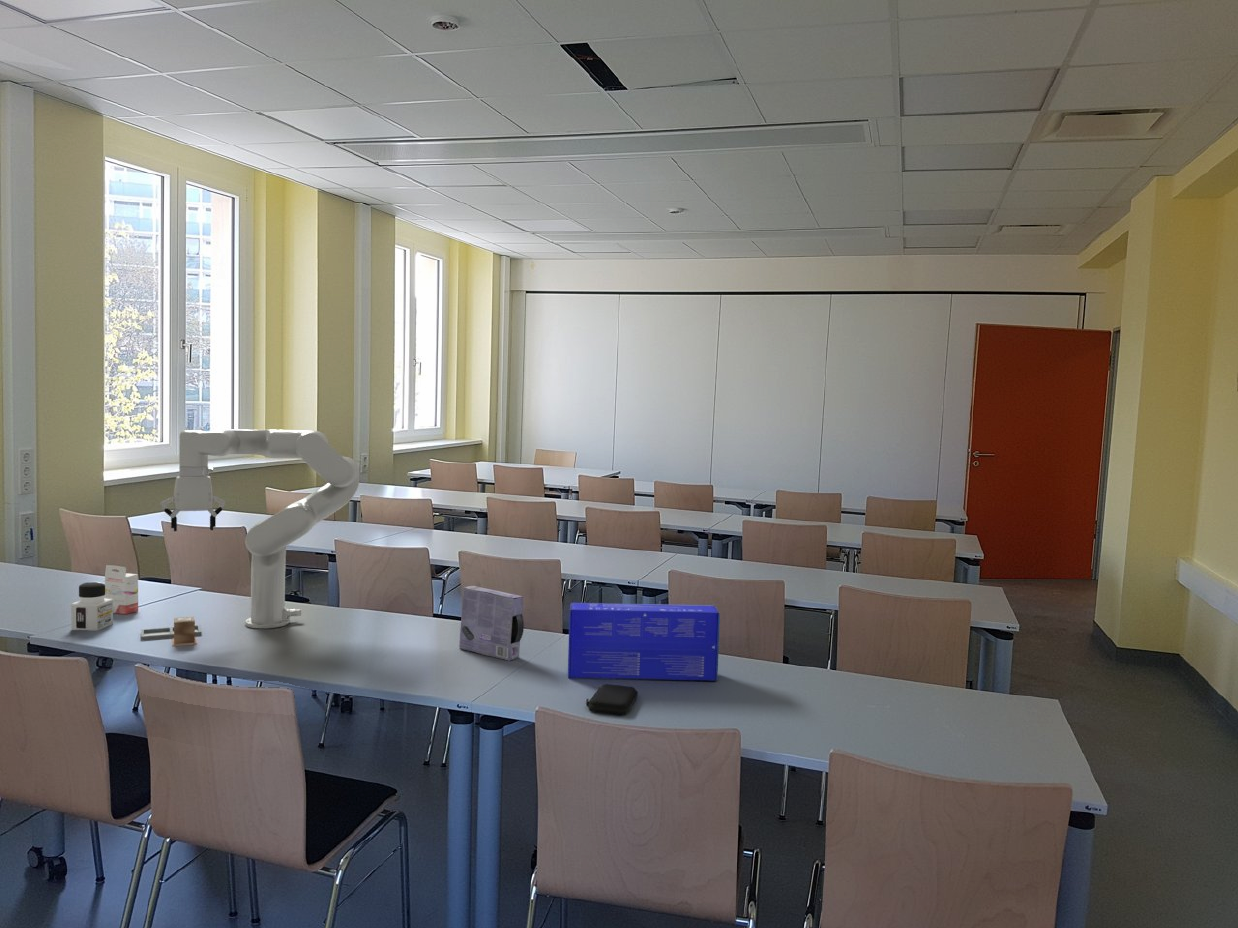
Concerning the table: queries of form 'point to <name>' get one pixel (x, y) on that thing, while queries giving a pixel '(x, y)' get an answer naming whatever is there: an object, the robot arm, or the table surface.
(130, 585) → the ink cartridge box
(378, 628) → the table surface
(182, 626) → the brown labeled box
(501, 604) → the cake pan box
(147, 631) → the cubby strip
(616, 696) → the carrying case or bag
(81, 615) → the container
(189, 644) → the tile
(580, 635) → the toner cartridge box
